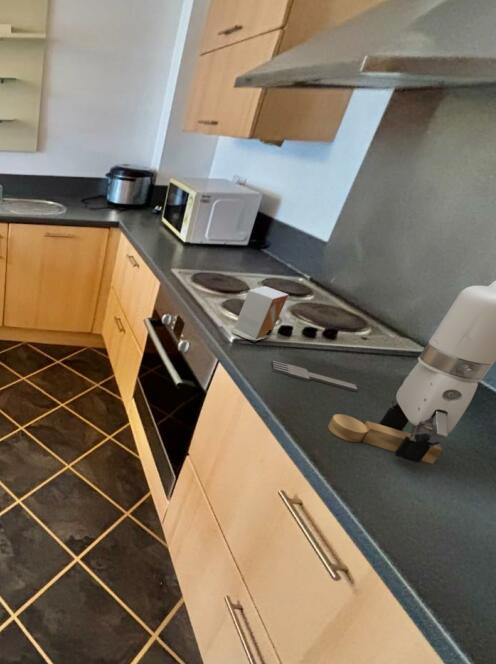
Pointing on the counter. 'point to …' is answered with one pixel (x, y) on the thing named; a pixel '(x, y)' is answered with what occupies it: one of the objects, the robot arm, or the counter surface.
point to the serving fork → (310, 375)
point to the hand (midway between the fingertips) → (397, 442)
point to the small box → (260, 311)
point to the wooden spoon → (374, 435)
